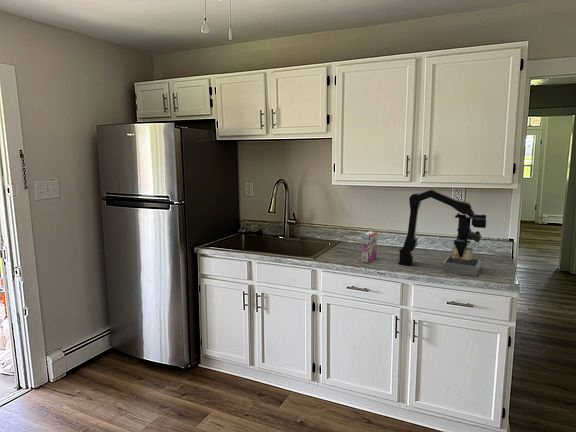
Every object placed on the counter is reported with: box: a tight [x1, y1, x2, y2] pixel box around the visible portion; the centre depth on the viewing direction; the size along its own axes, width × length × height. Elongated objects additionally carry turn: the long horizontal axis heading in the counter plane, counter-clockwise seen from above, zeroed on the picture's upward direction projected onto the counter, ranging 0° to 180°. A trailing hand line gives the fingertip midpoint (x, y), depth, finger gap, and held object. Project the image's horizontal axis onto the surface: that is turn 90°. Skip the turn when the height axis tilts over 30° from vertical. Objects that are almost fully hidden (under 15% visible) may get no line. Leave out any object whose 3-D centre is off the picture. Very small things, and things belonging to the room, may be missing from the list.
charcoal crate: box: [442, 255, 481, 277], centre depth 215 cm, size 16×16×5 cm
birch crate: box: [451, 245, 474, 260], centre depth 214 cm, size 9×6×5 cm
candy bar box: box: [360, 230, 378, 264], centre depth 234 cm, size 11×5×16 cm, turn 145°
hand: (462, 255), depth 214 cm, fingers closed on birch crate, 6 cm apart
